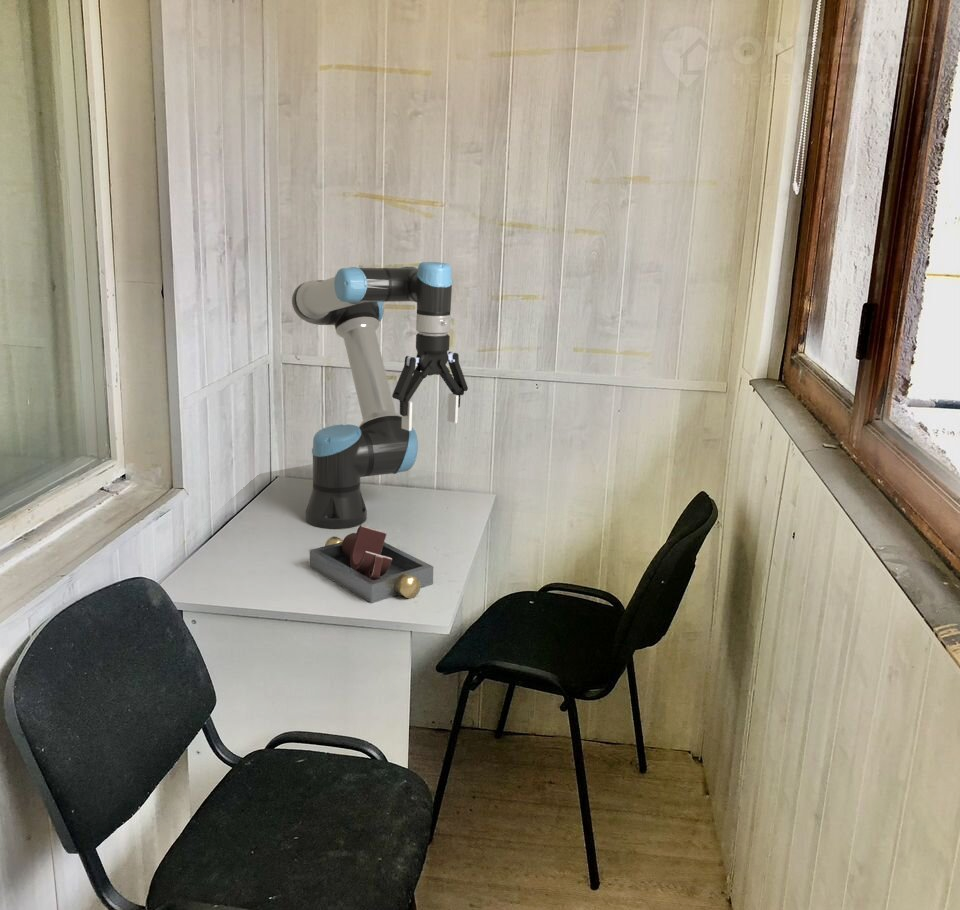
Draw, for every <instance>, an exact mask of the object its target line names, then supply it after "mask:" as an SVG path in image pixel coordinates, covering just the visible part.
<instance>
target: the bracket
mask: <svg viewBox="0 0 960 910" xmlns="http://www.w3.org/2000/svg"><path fill="white" fill-rule="evenodd" d="M387 536H388V535H387V532H386V531H384V530H380V529H377V528H374V527H370V526H368V525H367V526H366V525H363V524H360V525H359V526H358V527H357V529H356V532H352V533H349V534H347V535H346V536H345V537H344V538H343V539H342V540H343V542H342V550H343V552H344V554H345V555H346V556H348V557H350V565H351V568H352V569H353V570H357V571H359V573H361V574H362V575H364V576H366V577H368V578H370V579H372V580H377V579H378V578H379V576H380V577H381V576H383V575H384V574H385V573H386V572H387V570H388V569H389V566H390V564H391V561H392V558H389V557H386V556H382V555H380V554H381V551H382V548H383V544H384V542H385V541H386V537H387Z"/></svg>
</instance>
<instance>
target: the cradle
mask: <svg viewBox="0 0 960 910" xmlns="http://www.w3.org/2000/svg"><path fill="white" fill-rule="evenodd" d="M343 540H344V539H342V538H340V537H338V536H331V537H329V538H328V539H327V540H326V542H325V544H324V546H320V547H316V548H313V549H309V568H310V569H312V570H314V571H316V572H317V573H319V574H321V575H323V576H324V577H326V578H328V579H329V580H331V581H332V582H335V583H336V584H338V585H339V586H341V587H344V589H346V590H348V591H350V592H352V593H354V594H355V595H357V596H358V597H360V598H362V599H364V600H365V601H367V602H369V603H371V604H373V603H376V602H380V601H383V600H387V599H389V598H392V597H396V596H399V595H400V596H402V597H404V598H406V599H408V600H409V599H414V598H415V597H417V596H418V595H419V593H420V591H421V588H424V587H425V588H426V587H428V586H431V585H433V584H434V566H433V565H431V564H429V563H427V562H425V561H423V560H421V559H419V558H417V557H416V556H413V555H411V554H409V553H407V552H406V551H404V550H401V549H399V548H397V547H395V546H393V545H391V544H389V543H387V542H385V541H384V544H383V548H382V551H381V554H380V555H382V556H386V557H389V558H392V561H391V564H390V566H389V569H388V570H387V572H386V573H385V574H384V575H383V576H381V577H380V576H379V578H378V579H377V580H372V579H370V578H368V577H366V576H364V575H362V574H361V573H359V571H357V570H353V569H352V568H351V565H350V557H348V556H346V555H345V554H344V552H343V550H342V542H343Z"/></svg>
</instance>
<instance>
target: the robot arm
mask: <svg viewBox="0 0 960 910" xmlns="http://www.w3.org/2000/svg"><path fill="white" fill-rule="evenodd" d="M452 270H453V269H452V266H451V265H450V264H449V263H446V262H441V261H440V262H436V261H424V262H423V261H422V262H420V263H418V267H415V266H401V267H357V266H352V267H351V266H350V267H342V268H340V269H339V270H338V271H337V272H336V274H335V275H334V276H333V277H330V278H327V279H325V280H324V279H321V280H320V279H318V280H317V279H316V280H308V281H304V282H303V283H300V284H299V285H298V286H297V287H296V288H295V289H294V291H293V293H292V295H291V304H292V305H291V306H292V308H293V311H294V312H295V313H296V315H297V316H298V317H299V318H300V319H301V320H303V321H305V322H307V323H309V324H312V325H317V326H319V325H320V326H334V328H335V333H336V334H337V336H338V337H341V338H342V339H343V342H344V345H345V350H346V355H347V358H348V362H349V367H350V371H351V376H352V378H353V379H352V380H353V383H354V387H355V392H356V393H355V394H356V396H357V400H358V401H357V402H358V404H359V409H360V413H361V417H362V421H361V423H360V424H359V426H358V425H356V424H349V423H348V424H336V425H335V424H334V425H330V426H327V427H323V428H322V429H320V430H318V431H317V432H315V434H314V435H313V440H312V450H311V453H312V491H311V493H310V494H311V495H310V497H309V500H308V505H307V507H306V509H305V521H306V522H307V523H308V524H310V525H312V526H314V527H319V528H323V529H333V530H335V529H349V528H353V527H357V526H358V527H359V526H360V525H363V524H364V523H365V522H366V521H367V519H368V516H367V514H368V513H367V512H368V511H367V510H368V509H367V507H366V503H365V501H364V497H363V495H362V492H361V478H364V477H372V476H373V477H375V476H379V475H380V476H382V475H383V476H384V475H390V474H393V475H396V474H398V473H403V472H408V471H410V470H411V469H412V468H413V466H414V465H415V462H416V460H417V456H418V452H419V451H418V449H419V445H418V444H419V440H418V435H417V433H416V430H415V429H414V427H413V401H410V400H411V399H412V397H413V396H414V394H415V392H416V391H417V390H418V388H419V387H420V385H421V383H422V382H423V380H424V379H426V378H427V377H428V376H429V377H431V376H433V375H439V376H440V377H441V379H442V380H443V382H444V383H445V385H446V386H447V388H448V389H449V390H450V392H451V393H448V395H447V396H448V397H447V398H448V401H447V402H448V403H447V404H448V405H447V422H449V423H453V424H458V417H459V408H460V407H461V396H464V395H465V392H467V391H468V389H469V387H468V385H467V382H466V378H465V376H464V373H463V370H462V367H461V365H460V359H459V353H457V352H453V351H450V340H451V338H450V335H449V333H450V331H451V309H452V290H453V278H452V276H453V272H452ZM386 302H387V303H388V302H391V303H392V302H414V303H416V318H415V319H416V322H415V326H416V327H415V331H416V332H418V333H417V334H416V335H415V348H416V349H415V350H416V352H417V353H416V357H413V356H409V355H406V356H405V358H404V365H403V368H402V370H401V373H400V376H398V377H399V378H398V380H397V382H396V386H395V387H394V390H393V393H391V389H390V384H389V380H388V378H387V377H388V376H387V373H386V369H385V365H384V361H383V356H382V353H381V348H380V345H379V341H378V336H377V330H378V329H379V326H380V322H381V321H382V319H383V317H384V308H383V307H384V303H386ZM447 363H448V366H449V367H448V366H447ZM450 372H451V373H450ZM393 399H396V400H398V401H399V413H397V412H396V409H395V405H394V400H393Z"/></svg>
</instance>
